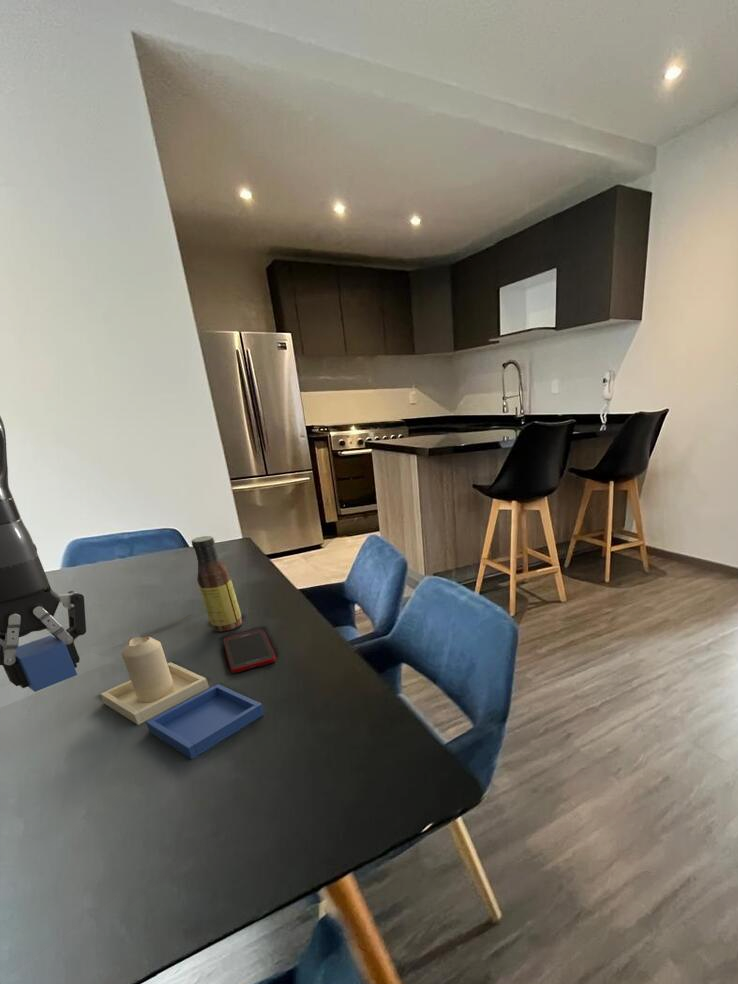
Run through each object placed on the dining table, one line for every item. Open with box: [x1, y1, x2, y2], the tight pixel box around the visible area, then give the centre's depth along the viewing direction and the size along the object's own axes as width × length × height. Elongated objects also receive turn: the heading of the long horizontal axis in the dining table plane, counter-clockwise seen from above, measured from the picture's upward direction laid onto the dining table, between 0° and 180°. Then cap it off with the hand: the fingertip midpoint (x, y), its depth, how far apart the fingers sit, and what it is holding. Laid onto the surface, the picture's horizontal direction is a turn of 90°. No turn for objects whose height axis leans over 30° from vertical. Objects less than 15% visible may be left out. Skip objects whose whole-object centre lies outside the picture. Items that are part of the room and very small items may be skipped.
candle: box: [121, 635, 175, 702], centre depth 80 cm, size 6×6×10 cm
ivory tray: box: [100, 662, 210, 726], centre depth 81 cm, size 12×12×2 cm
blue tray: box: [145, 683, 265, 760], centre depth 73 cm, size 12×12×2 cm
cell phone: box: [223, 629, 277, 674], centre depth 94 cm, size 8×15×1 cm, turn 28°
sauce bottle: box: [191, 535, 243, 632], centre depth 102 cm, size 6×6×20 cm
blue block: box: [16, 635, 78, 693], centre depth 67 cm, size 5×5×5 cm
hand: (48, 675), depth 68 cm, fingers closed on blue block, 5 cm apart
